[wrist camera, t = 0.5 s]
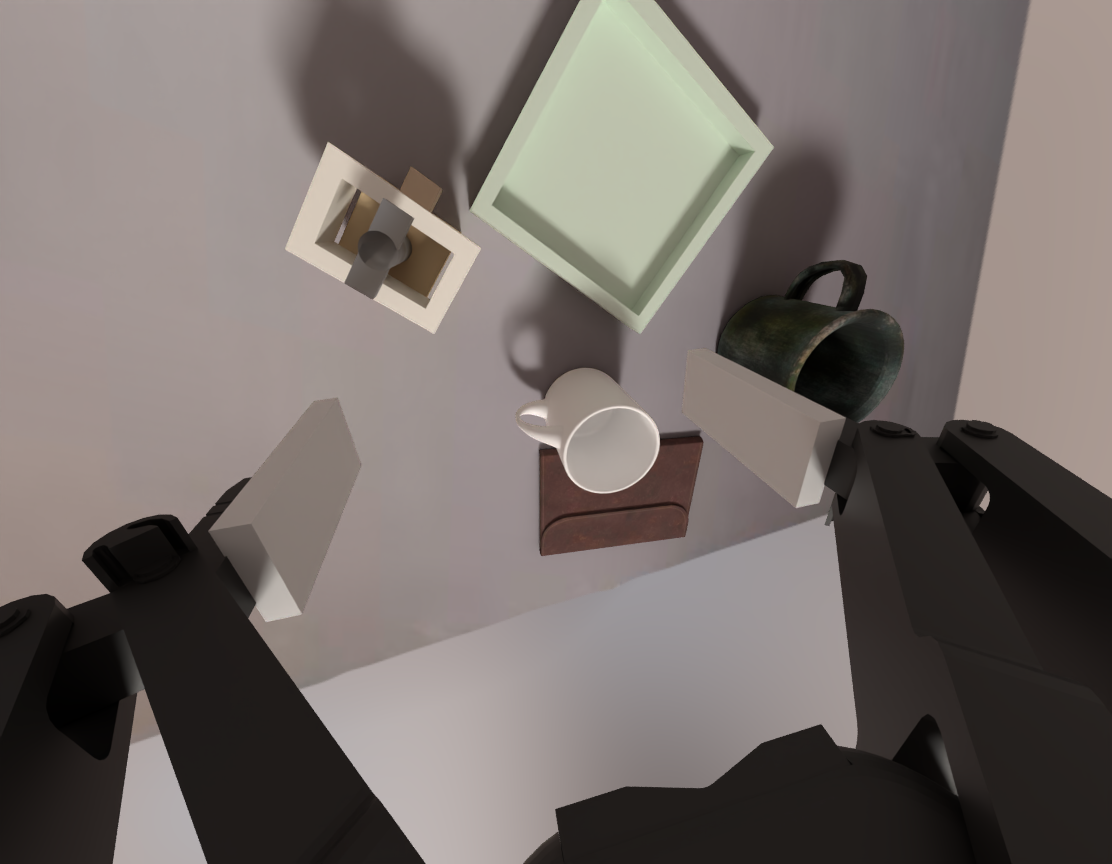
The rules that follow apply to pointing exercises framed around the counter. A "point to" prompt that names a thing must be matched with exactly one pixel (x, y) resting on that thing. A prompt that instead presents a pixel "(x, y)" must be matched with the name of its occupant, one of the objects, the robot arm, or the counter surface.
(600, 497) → the notebook
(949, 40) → the counter surface
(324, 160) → the ring
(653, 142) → the tray
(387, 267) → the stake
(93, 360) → the counter surface
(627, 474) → the mug
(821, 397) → the mug
